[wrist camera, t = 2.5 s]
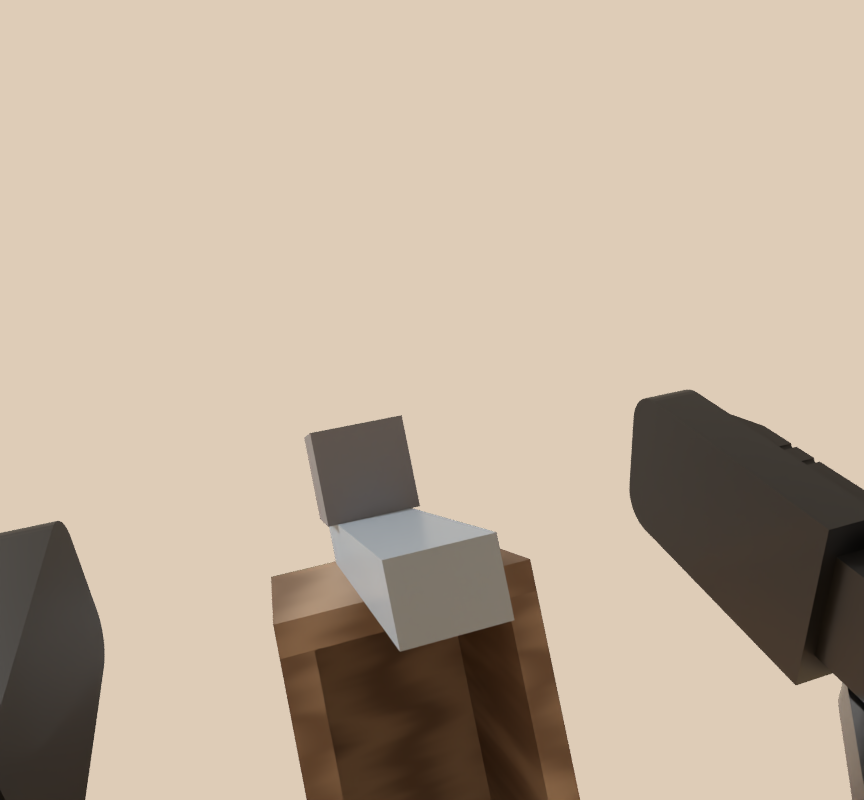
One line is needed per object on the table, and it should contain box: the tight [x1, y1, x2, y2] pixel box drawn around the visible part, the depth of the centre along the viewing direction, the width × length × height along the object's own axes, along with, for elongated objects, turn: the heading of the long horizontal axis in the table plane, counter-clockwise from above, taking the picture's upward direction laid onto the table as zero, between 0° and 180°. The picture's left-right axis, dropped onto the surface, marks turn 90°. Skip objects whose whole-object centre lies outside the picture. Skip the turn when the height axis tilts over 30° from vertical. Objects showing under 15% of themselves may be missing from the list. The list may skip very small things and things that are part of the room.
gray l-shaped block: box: [305, 416, 514, 652], centre depth 35 cm, size 5×22×8 cm, turn 13°
